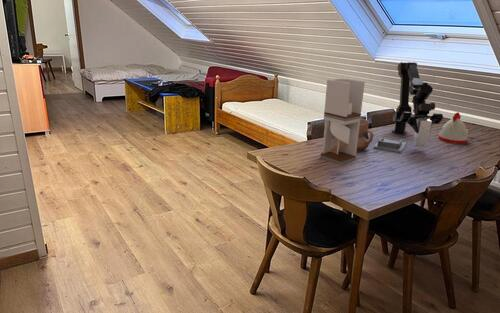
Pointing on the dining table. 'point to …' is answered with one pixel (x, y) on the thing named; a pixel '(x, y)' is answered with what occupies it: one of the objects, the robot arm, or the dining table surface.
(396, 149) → the coupler cradle
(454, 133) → the cream and red dome
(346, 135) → the display case
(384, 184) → the dining table surface
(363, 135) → the door stopper
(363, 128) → the ceramic jug
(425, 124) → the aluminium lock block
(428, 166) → the dining table surface
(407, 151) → the dining table surface
